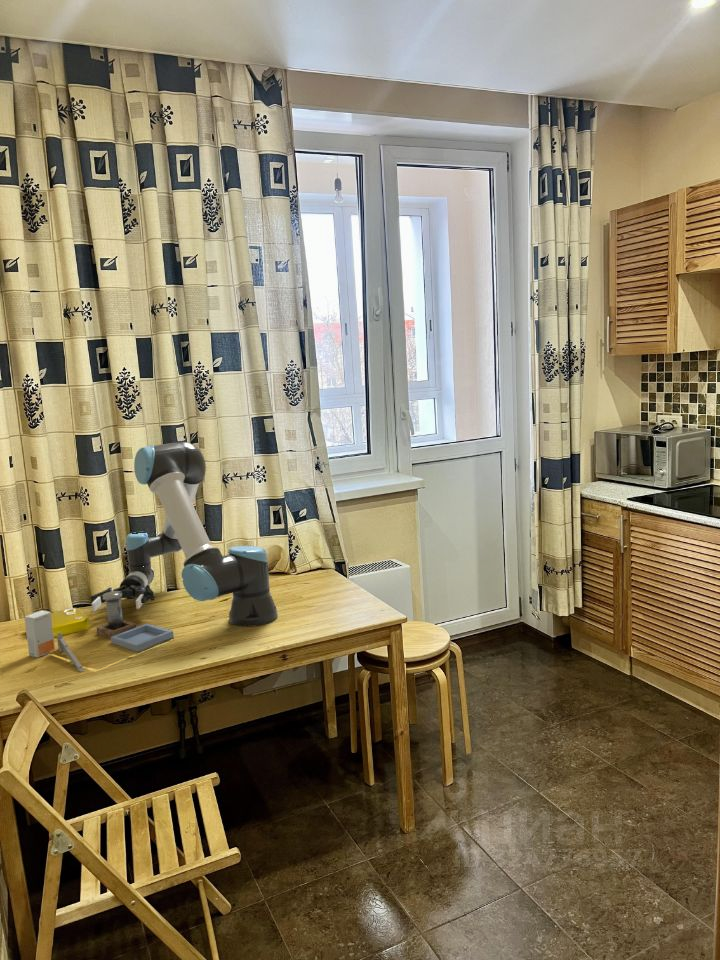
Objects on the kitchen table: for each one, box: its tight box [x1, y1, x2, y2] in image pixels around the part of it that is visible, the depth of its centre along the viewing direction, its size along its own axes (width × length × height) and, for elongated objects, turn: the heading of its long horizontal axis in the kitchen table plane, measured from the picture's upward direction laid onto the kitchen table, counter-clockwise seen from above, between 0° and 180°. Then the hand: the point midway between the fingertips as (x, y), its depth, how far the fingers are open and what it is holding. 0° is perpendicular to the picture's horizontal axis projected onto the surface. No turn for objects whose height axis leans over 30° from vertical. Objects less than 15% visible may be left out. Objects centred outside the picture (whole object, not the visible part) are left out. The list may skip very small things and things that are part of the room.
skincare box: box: [24, 610, 56, 659], centre depth 215 cm, size 6×4×12 cm
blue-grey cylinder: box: [103, 591, 124, 630], centre depth 228 cm, size 6×6×12 cm
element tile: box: [51, 607, 91, 639], centre depth 235 cm, size 15×15×5 cm
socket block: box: [96, 619, 137, 639], centre depth 229 cm, size 8×8×3 cm
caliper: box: [56, 632, 84, 673], centre depth 209 cm, size 20×1×6 cm, turn 37°
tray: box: [110, 623, 175, 654], centre depth 221 cm, size 13×13×2 cm
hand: (115, 606), depth 230 cm, fingers open, 13 cm apart
